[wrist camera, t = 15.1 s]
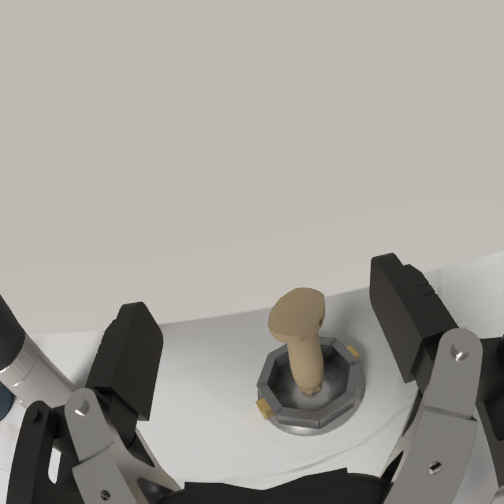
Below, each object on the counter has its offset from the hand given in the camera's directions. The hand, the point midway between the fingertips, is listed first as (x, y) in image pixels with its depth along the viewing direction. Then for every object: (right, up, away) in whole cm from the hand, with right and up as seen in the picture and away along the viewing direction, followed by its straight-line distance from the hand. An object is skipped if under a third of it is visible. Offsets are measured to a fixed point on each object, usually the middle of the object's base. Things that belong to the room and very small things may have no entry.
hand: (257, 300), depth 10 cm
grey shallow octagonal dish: (+8, -17, +25) cm, 31 cm away
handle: (+8, -16, +25) cm, 31 cm away
